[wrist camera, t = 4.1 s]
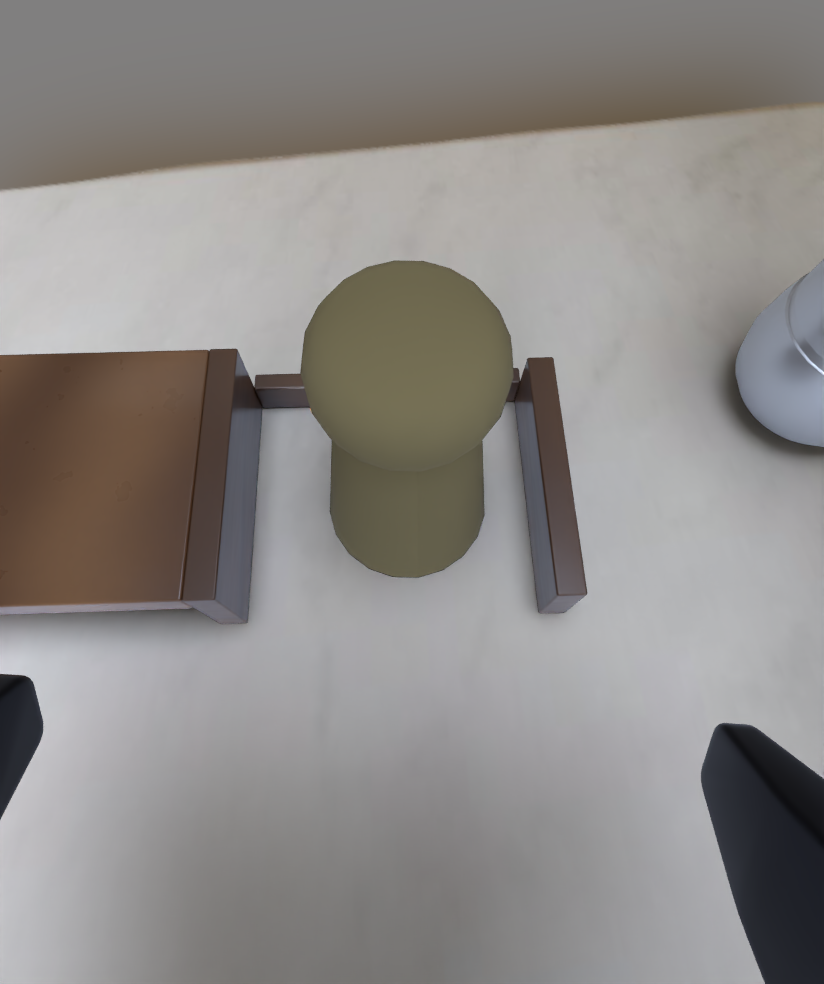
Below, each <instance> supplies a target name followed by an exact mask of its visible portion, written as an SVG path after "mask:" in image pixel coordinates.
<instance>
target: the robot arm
mask: <svg viewBox="0 0 824 984" xmlns="http://www.w3.org/2000/svg"><path fill="white" fill-rule="evenodd" d="M42 734H43V719H42V715H41V711H40V707H39V703H38V699H37V695H36V691H35V687H34V684H33V682H32V680H31V679H30V678H29V677H26V676H22V675H8V674H0V819H1V817H2V815H3V813H4V811H5V809H6V807H7V805H8V803H9V802H10V800H11V798H12V796H13V794H14V792H15V790H16V788H17V786H18V784H19V782H20V780H21V778H22V776H23V774H24V772H25V770H26V768H27V766H28V764H29V763H30V761H31V759H32V757H33V755H34V753H35V751H36V749H37V747H38V745H39V743H40V740H41V737H42ZM701 783H702V788H703V792H704V796H705V799H706V803H707V806H708V810H709V813H710V817H711V820H712V824H713V827H714V831H715V835H716V838H717V842H718V845H719V849H720V852H721V856H722V859H723V863H724V866H725V870H726V873H727V877H728V880H729V884H730V887H731V891H732V894H733V897H734V901H735V904H736V907H737V910H738V914H739V916H740V919H741V922H742V925H743V927H744V930H745V933H746V936H747V938H748V941H749V943H750V946H751V948H752V951H753V954H754V956H755V959H756V961H757V964H758V966H759V969H760V972H761V974H762V977H763V979H764V982H765V984H824V779H823V778H822V777H820V776H819V775H818V774H816V773H815V772H814V771H813V770H811V769H810V768H809V767H807V766H806V765H805V764H803V763H802V762H801V761H799V760H798V759H797V758H795V757H794V756H793V755H791V754H790V753H789V752H787V751H786V750H785V749H783V748H782V747H781V746H780V745H778V744H777V743H776V742H774V741H773V740H772V739H770V738H769V737H768V736H766V735H765V734H764V733H762V732H761V731H760V730H758V729H757V728H755V727H753V726H751V725H746V724H732V723H722V724H719V725H718V726H717V727H716V728H715V730H714V732H713V735H712V738H711V741H710V744H709V747H708V751H707V754H706V757H705V760H704V763H703V766H702V771H701Z"/></svg>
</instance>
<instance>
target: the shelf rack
mask: <svg viewBox="0 0 824 984" xmlns="http://www.w3.org/2000/svg"><path fill="white" fill-rule="evenodd" d="M513 376H514V377H513V380H512V383H511V387H510V390H509V393H508V396H507V399H506V401H514V399H515V407H516V416H517V425H518V434H519V443H520V452H521V461H522V469H523V478H524V487H525V496H526V505H527V514H528V523H529V532H530V540H531V549H532V558H533V567H534V576H535V585H536V594H537V603H538V611H539V613H564V612H566V611H567V610H568V609H570V608H571V607H572V606H573V605H575V604H576V603H577V602H578V601H580V600H581V599H582V598H583V597H585V596H586V595H587V587H586V580H585V574H584V567H583V560H582V553H581V546H580V539H579V532H578V525H577V518H576V511H575V504H574V497H573V491H572V484H571V477H570V470H569V463H568V456H567V449H566V442H565V435H564V428H563V421H562V414H561V408H560V401H559V394H558V387H557V380H556V373H555V366H554V359H553V358H552V357H544V358H528V359H527V362H526V365H525V368H524V371H523V374H522V378H521V381H520V377H519V370H518V368H513ZM515 396H516V397H515ZM262 407H263V408H275V407H310V405H309V402H308V399H307V395H306V392H305V388H304V384H303V381H302V377H301V374H272V375H256V377H255V388H254V386H253V384H252V382H251V379H250V377H249V375H248V373H247V370H246V368H245V366H244V363H243V361H242V359H241V357H240V354H239V352H238V350H237V349H211V350H210V351H208V350H186V351H146V352H107V353H67V354H27V355H0V615H6V614H37V613H67V612H98V611H129V610H160V609H190V608H195V609H197V610H198V611H200V612H202V613H203V614H205V615H207V616H208V617H210V618H212V619H213V620H215V621H217V622H218V623H220V624H236V623H247V622H248V608H249V593H250V579H251V564H252V549H253V535H254V520H255V505H256V491H257V476H258V461H259V447H260V432H261V417H262Z"/></svg>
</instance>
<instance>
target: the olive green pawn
mask: <svg viewBox="0 0 824 984" xmlns="http://www.w3.org/2000/svg"><path fill="white" fill-rule="evenodd" d="M300 373H301V377H302V381H303V384H304V388H305V392H306V395H307V399H308V402H309V405H310V408H311V411H312V414H313V415H314V417H315V418H316V419H317V421H318V422H319V424H320V425H321V426H322V428H323V429H324V430H325V432H326V433H327V435H328V436H329V437H330V438H331V439H332V456H331V494H330V514H331V517H332V521H333V525H334V528H335V532H336V535H337V536H338V538H339V539H340V541H341V542H342V544H343V545H344V547H345V548H346V549H347V551H348V552H349V554H350V555H352V556H353V557H354V558H356V559H357V560H358V561H360V562H361V563H362V564H364V565H365V566H366V567H368V568H369V569H372V570H375V571H378V572H381V573H383V574H386V575H389V576H392V577H421V576H424V575H428V574H431V573H435V572H438V571H441V570H444V569H445V568H446V567H448V566H449V565H451V564H452V563H454V562H455V561H457V560H458V559H460V558H461V557H462V556H463V555H464V554H465V553H466V551H467V550H468V549H469V547H470V546H471V545H472V543H473V542H474V541H475V539H476V538H477V537H478V533H479V530H480V527H481V524H482V521H483V518H484V483H483V448H482V440H483V438H484V437H485V436H486V435H487V433H488V432H489V431H490V430H491V428H492V427H493V426H494V425H495V423H496V422H497V421H498V420H499V418H500V417H501V414H502V411H503V408H504V405H505V402H506V399H507V396H508V393H509V390H510V387H511V383H512V380H513V377H514V376H513V357H512V345H511V337H510V334H509V332H508V329H507V327H506V325H505V323H504V320H503V318H502V316H501V314H500V311H499V310H498V309H497V307H496V306H495V305H494V304H493V303H492V301H491V300H490V299H489V298H488V297H487V296H486V295H485V294H484V293H483V292H482V291H481V290H480V288H479V287H478V286H477V285H476V284H475V283H474V282H472V281H471V280H469V279H467V278H466V277H464V276H462V275H460V274H459V273H457V272H455V271H454V270H452V269H450V268H446V267H443V266H439V265H436V264H432V263H428V262H425V261H391V262H387V263H383V264H378V265H374V266H370V267H367V268H365V269H363V270H361V271H359V272H357V273H355V274H354V275H352V276H350V277H348V278H346V279H344V280H343V281H342V282H341V283H340V284H339V285H338V286H337V287H336V288H335V289H334V290H333V291H332V292H331V293H330V294H329V295H328V296H327V297H326V298H325V299H324V300H323V301H322V302H321V303H320V305H319V306H318V307H317V309H316V311H315V313H314V315H313V317H312V319H311V321H310V323H309V325H308V327H307V329H306V331H305V336H304V344H303V353H302V362H301V372H300Z"/></svg>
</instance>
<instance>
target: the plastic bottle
mask: <svg viewBox="0 0 824 984" xmlns="http://www.w3.org/2000/svg"><path fill="white" fill-rule="evenodd" d="M736 378H737V382H738V386H739V391H740V395H741V397H742V399H743V401H744V403H745V405H746V407H747V408H748V410H749V411H750V412H751V414H752V415H753V416H754V417H755V418H756V419H757V420H758V421H759V422H760V423H761V424H762V425H763V426H765V427H766V428H768V429H769V430H770V431H772V432H773V433H775V434H777V435H779V436H781V437H783V438H785V439H787V440H791V441H794V442H797V443H800V444H806V445H813V446H820V447H824V259H823V260H822V261H821V262H820V263H819V264H818V265H817V266H816V267H815V268H814V269H813V270H812V271H811V272H810V273H808V274H806V275H805V276H803V277H802V278H800V279H799V280H798V281H796V282H795V283H794V284H793V285H791V286H790V287H789V288H787V289H786V290H785V291H784V292H783V293H782V294H781V295H780V296H778V297H777V298H776V299H775V300H774V301H773V302H772V303H771V304H770V305H769V306H768V307H766V308H765V309H764V310H763V311H762V312H761V313H760V314H759V315H758V316H757V318H756V319H755V321H754V323H753V324H752V326H751V328H750V330H749V332H748V334H747V335H746V337H745V339H744V341H743V343H742V345H741V347H740V349H739V351H738V355H737V359H736Z"/></svg>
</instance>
